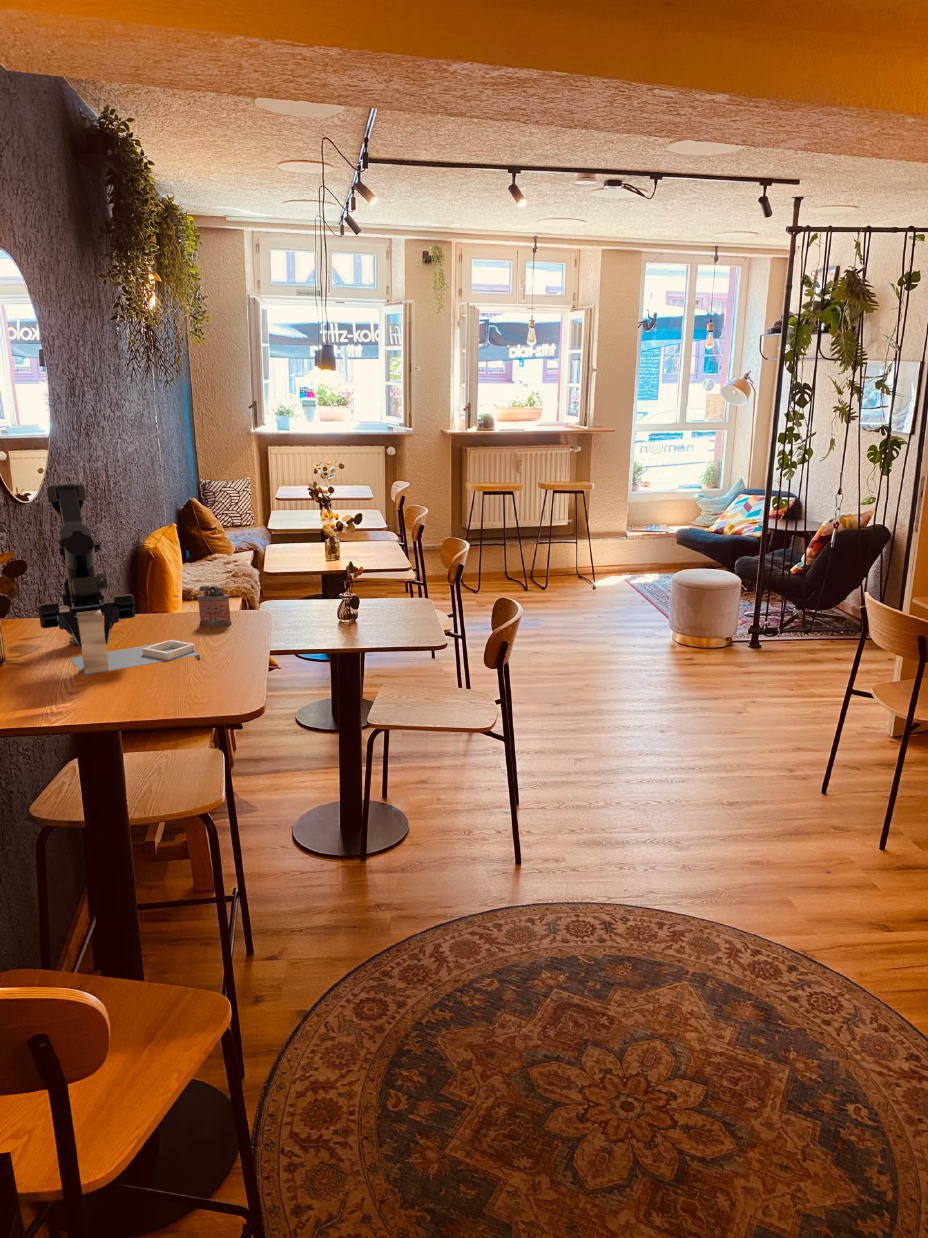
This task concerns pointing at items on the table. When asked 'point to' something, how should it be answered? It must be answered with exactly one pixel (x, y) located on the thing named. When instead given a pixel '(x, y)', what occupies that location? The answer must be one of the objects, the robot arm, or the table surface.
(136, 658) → the plate
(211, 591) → the lighter
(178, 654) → the socket
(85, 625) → the birch pillar
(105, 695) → the table surface
